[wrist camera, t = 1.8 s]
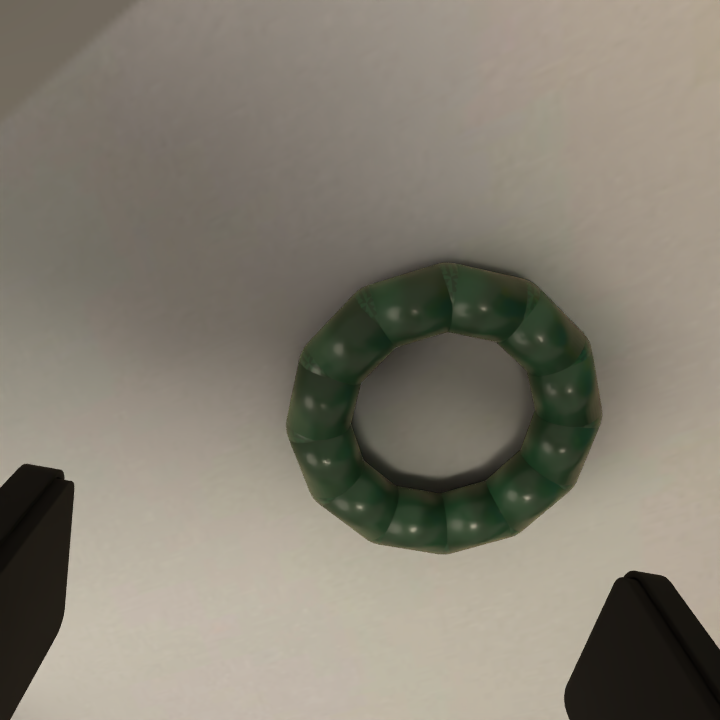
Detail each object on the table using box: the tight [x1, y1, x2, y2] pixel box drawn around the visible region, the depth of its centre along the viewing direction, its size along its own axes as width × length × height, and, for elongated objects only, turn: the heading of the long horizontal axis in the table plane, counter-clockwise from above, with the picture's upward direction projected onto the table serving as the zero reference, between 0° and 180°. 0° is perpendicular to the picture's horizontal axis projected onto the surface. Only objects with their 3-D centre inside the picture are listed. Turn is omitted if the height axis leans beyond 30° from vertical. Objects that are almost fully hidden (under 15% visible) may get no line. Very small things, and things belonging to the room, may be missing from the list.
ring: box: [286, 262, 602, 554], centre depth 18 cm, size 9×9×2 cm
